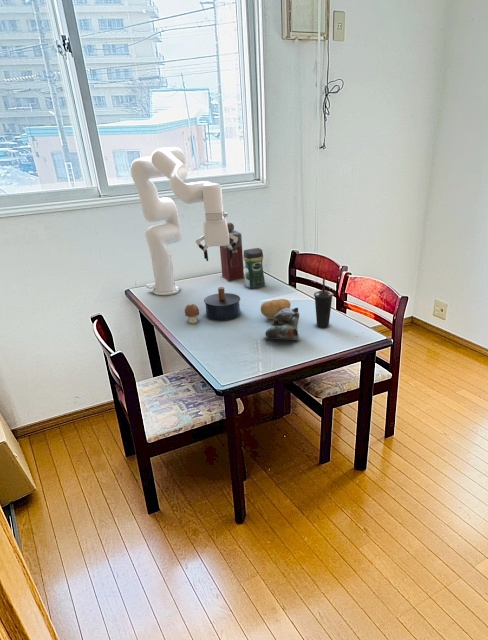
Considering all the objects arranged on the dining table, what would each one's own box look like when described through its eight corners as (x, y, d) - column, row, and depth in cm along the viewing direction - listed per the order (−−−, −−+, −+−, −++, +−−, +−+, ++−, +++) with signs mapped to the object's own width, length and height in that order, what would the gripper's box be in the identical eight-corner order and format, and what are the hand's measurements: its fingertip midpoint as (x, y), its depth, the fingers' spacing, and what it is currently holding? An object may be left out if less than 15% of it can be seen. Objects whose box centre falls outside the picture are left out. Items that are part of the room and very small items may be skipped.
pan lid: (203, 309, 207) (202, 295, 204) (204, 296, 220) (202, 283, 217) (241, 306, 208) (240, 292, 205) (239, 294, 222) (238, 281, 218)
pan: (206, 322, 210) (204, 307, 207) (206, 309, 223) (205, 295, 219) (240, 319, 212) (239, 305, 208) (239, 307, 224) (238, 293, 221)
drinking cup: (334, 323, 206) (335, 276, 196) (329, 330, 200) (330, 282, 190) (316, 321, 208) (317, 274, 198) (311, 328, 202) (311, 280, 192)
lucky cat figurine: (258, 338, 194) (263, 303, 193) (282, 343, 201) (288, 309, 200) (279, 340, 182) (285, 302, 181) (305, 345, 189) (310, 308, 188)
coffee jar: (260, 282, 254) (258, 245, 245) (267, 286, 248) (265, 249, 239) (243, 285, 251) (240, 248, 241) (249, 289, 244) (247, 252, 235)
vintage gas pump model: (230, 282, 255) (226, 226, 241) (222, 276, 264) (217, 222, 249) (246, 279, 259) (242, 224, 244) (237, 274, 267) (233, 220, 253)
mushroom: (185, 324, 208) (183, 307, 204) (186, 319, 213) (184, 302, 209) (200, 323, 209) (197, 306, 205) (200, 318, 214) (198, 301, 210)
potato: (296, 317, 212) (296, 299, 208) (268, 325, 206) (267, 307, 202) (283, 311, 219) (283, 293, 215) (256, 318, 213) (255, 300, 209)
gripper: (235, 213, 203) (238, 255, 212) (193, 216, 201) (198, 258, 210) (236, 217, 197) (240, 260, 205) (192, 219, 195) (198, 263, 203)
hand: (218, 259), depth 208 cm, fingers open, 9 cm apart
